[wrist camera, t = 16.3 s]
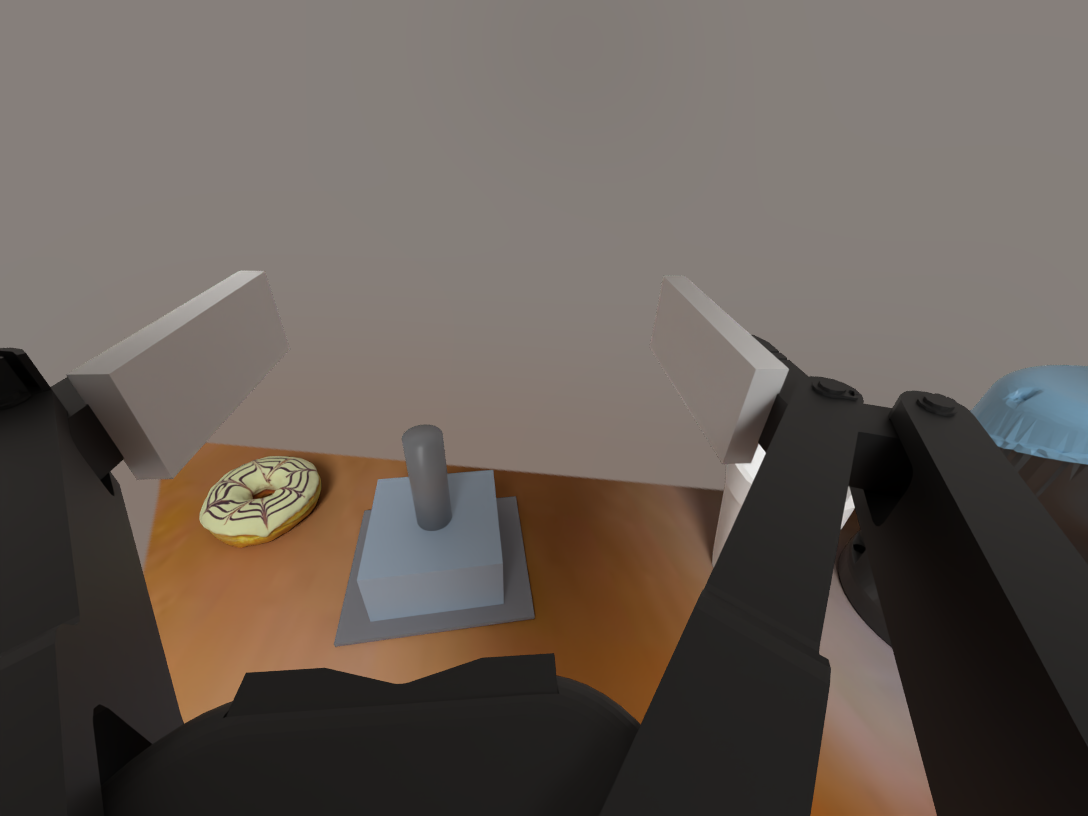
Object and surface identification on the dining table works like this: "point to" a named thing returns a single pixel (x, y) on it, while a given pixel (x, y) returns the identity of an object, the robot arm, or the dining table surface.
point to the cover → (431, 537)
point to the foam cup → (736, 492)
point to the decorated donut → (261, 500)
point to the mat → (515, 608)
